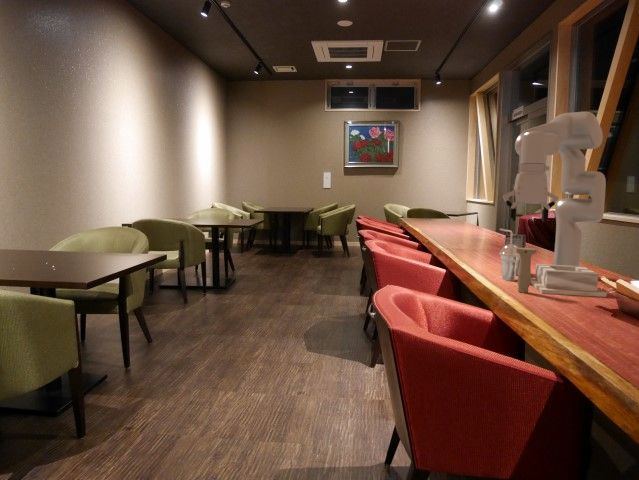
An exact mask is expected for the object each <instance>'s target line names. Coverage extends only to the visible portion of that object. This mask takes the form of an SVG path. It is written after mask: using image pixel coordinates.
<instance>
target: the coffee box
mask: <svg viewBox="0 0 639 480" xmlns="http://www.w3.org/2000/svg"><path fill="white" fill-rule="evenodd" d="M510 236H511V233H509V234H507V235H506V234H505V243H504V246H505V245H507V244H510ZM526 243H527V235H526V234H520V233H519V234H518V233H513V235H512V244H513V245H516V246H517V247H518V248H526ZM519 263H520V259H519V262H518V266H517V271H516V276H518V271H519Z"/></svg>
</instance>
